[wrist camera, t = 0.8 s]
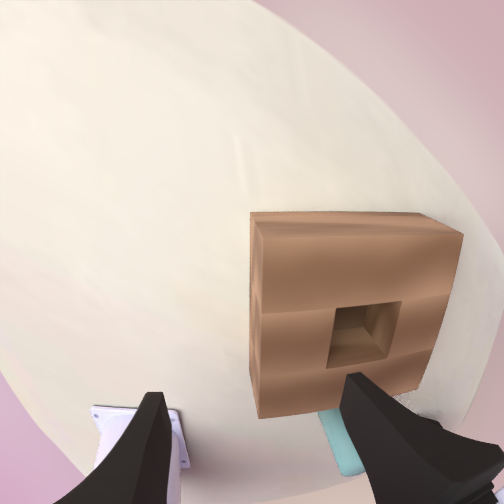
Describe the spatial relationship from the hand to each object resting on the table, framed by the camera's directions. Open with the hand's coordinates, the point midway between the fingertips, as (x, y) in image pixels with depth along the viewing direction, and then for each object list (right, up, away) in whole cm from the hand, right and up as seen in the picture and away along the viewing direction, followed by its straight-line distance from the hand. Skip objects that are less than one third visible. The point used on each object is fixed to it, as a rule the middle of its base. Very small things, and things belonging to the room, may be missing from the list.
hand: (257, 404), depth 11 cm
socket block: (+6, +3, +10) cm, 12 cm away
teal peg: (+7, -7, +14) cm, 17 cm away
